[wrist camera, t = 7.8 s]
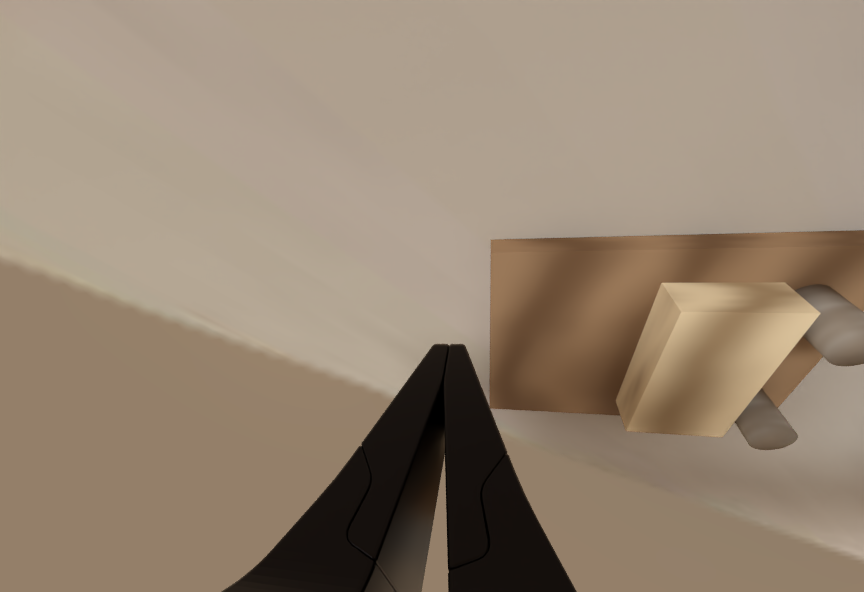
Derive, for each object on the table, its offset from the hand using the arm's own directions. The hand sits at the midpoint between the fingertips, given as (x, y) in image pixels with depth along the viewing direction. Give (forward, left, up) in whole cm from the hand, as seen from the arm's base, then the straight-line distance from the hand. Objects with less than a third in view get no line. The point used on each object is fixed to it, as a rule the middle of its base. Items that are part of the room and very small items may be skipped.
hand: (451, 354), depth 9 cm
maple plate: (-14, +11, -11) cm, 20 cm away
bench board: (-11, +11, -12) cm, 20 cm away
